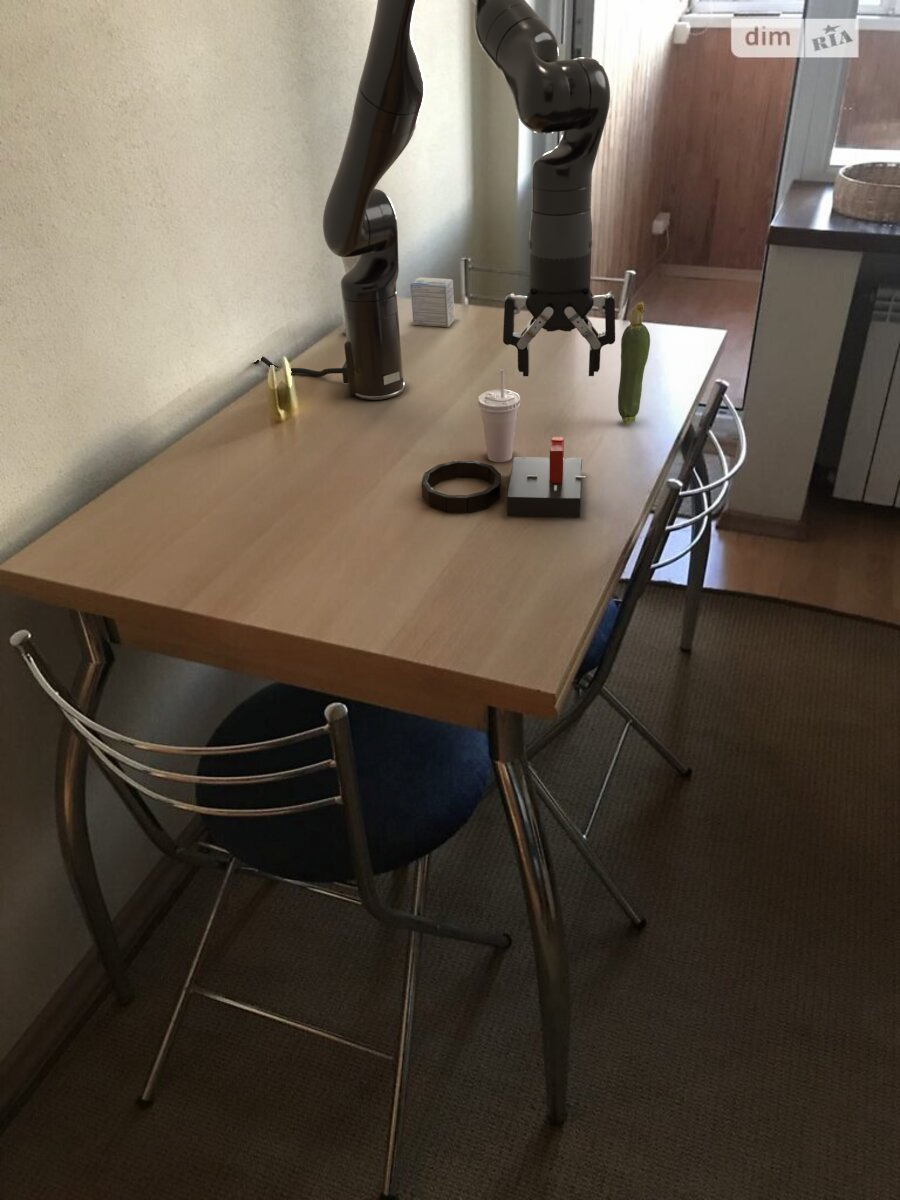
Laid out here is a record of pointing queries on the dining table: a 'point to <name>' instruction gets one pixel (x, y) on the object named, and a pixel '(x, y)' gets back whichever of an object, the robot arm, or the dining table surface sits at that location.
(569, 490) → the panel
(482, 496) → the ring
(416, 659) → the dining table surface
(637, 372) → the vegetable
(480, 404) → the smoothie
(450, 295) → the grey striped block
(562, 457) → the knob
